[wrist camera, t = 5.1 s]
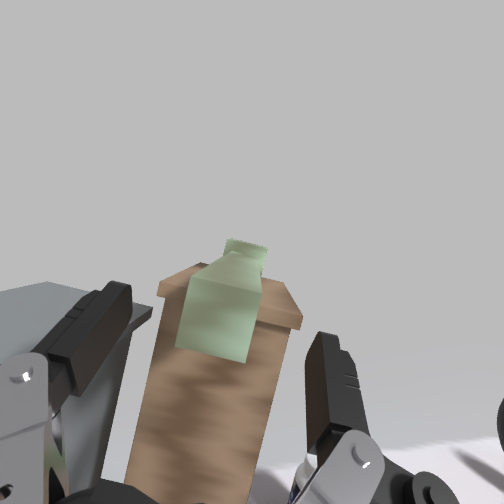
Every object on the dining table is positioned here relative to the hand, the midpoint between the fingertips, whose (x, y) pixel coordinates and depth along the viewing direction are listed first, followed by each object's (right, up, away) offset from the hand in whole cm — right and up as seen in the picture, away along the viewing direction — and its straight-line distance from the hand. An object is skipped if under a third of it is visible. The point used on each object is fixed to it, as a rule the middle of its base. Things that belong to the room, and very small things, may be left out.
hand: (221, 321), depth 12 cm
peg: (0, 0, +9) cm, 9 cm away
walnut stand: (-8, -31, +16) cm, 36 cm away
